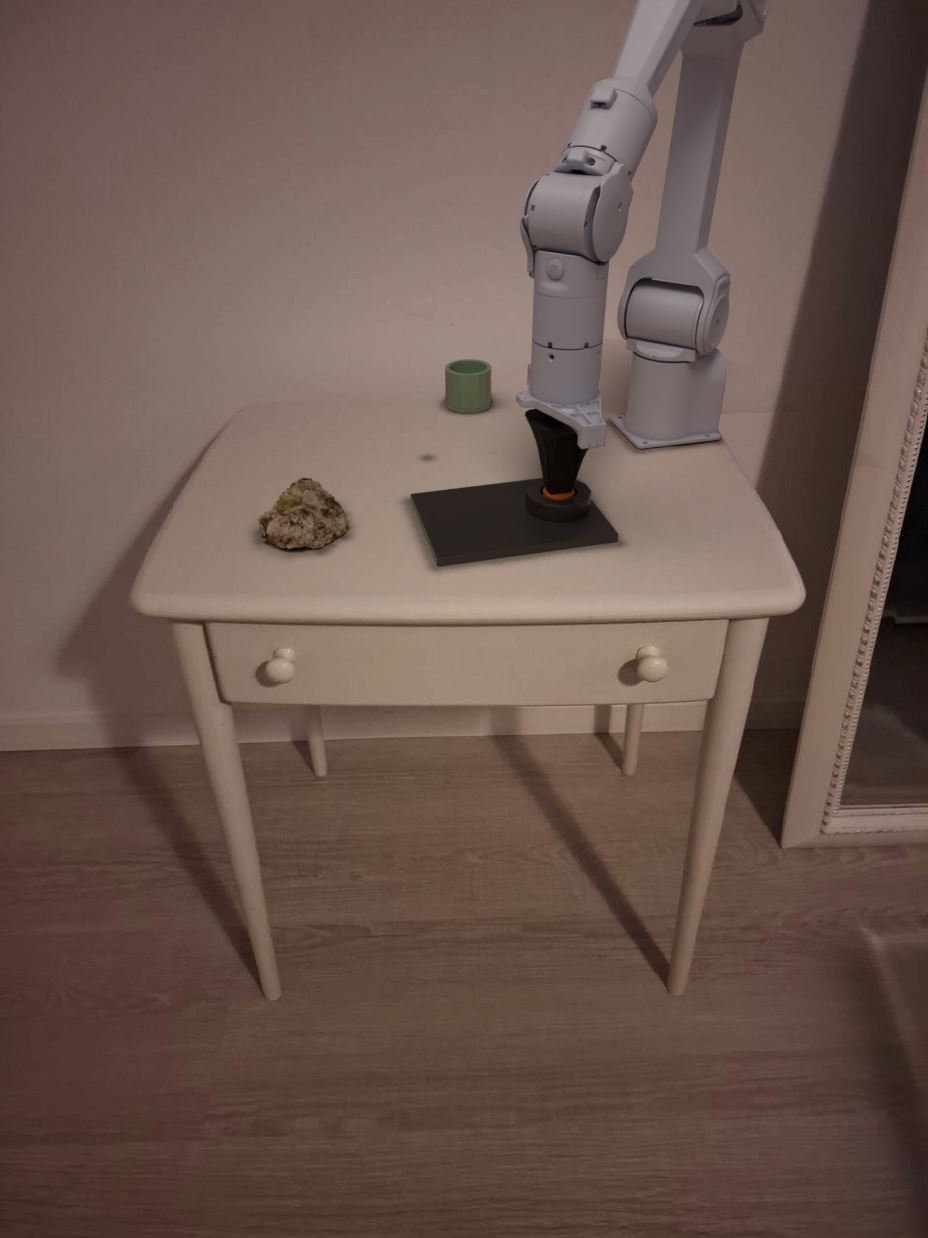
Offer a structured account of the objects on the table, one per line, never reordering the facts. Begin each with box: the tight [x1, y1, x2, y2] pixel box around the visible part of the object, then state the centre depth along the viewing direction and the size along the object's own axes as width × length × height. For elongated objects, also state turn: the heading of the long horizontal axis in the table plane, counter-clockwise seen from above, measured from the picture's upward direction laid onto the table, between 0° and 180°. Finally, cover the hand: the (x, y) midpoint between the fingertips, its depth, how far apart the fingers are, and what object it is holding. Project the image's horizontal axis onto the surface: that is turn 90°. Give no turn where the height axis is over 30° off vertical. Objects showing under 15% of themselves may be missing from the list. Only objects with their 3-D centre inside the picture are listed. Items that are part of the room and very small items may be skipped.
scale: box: [410, 477, 619, 568], centre depth 78 cm, size 16×12×2 cm
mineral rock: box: [256, 477, 350, 550], centre depth 78 cm, size 11×4×8 cm
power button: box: [543, 487, 574, 500], centre depth 78 cm, size 3×3×2 cm
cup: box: [444, 358, 492, 414], centre depth 100 cm, size 5×5×4 cm
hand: (558, 490), depth 78 cm, fingers closed, pressing on power button
